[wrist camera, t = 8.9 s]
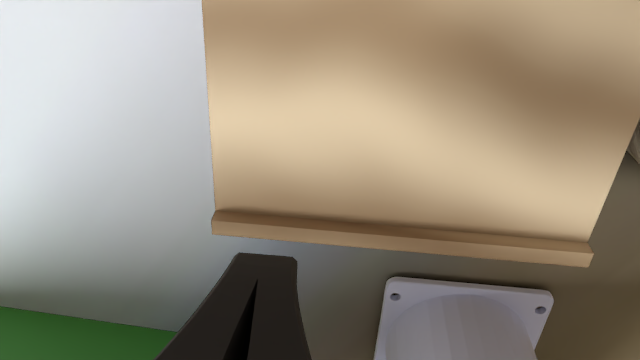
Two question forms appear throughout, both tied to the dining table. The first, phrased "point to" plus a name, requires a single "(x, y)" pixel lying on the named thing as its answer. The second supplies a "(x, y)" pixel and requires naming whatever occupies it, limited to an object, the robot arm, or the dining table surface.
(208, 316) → the robot arm
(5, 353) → the hardback book
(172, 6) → the dining table surface
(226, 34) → the lid rest
